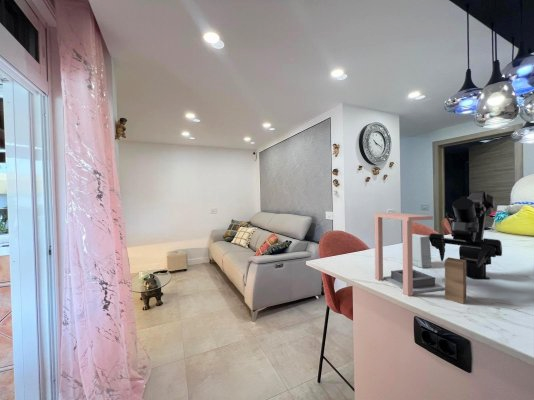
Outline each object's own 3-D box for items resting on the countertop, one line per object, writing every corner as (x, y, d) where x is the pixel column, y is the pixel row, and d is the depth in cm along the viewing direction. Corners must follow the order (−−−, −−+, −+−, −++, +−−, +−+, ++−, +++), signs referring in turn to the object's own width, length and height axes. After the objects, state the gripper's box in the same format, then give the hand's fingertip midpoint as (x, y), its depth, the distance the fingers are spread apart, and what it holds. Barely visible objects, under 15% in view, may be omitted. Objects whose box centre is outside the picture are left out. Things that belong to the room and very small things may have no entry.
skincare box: (431, 267, 101) (431, 236, 101) (421, 268, 100) (421, 236, 99) (415, 262, 109) (415, 233, 109) (405, 263, 108) (405, 233, 107)
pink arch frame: (395, 275, 91) (394, 212, 91) (433, 293, 74) (432, 216, 74) (374, 278, 89) (373, 213, 89) (409, 296, 72) (408, 217, 72)
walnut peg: (448, 294, 73) (448, 257, 73) (466, 299, 70) (466, 260, 70) (445, 298, 71) (444, 259, 70) (463, 304, 67) (463, 263, 67)
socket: (411, 275, 91) (411, 266, 91) (445, 289, 77) (445, 279, 77) (383, 278, 88) (383, 269, 88) (412, 293, 75) (412, 283, 74)
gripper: (430, 212, 83) (420, 244, 76) (501, 215, 68) (496, 255, 62) (436, 230, 88) (427, 262, 81) (503, 236, 73) (499, 276, 66)
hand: (458, 263), depth 73 cm, fingers open, 9 cm apart
